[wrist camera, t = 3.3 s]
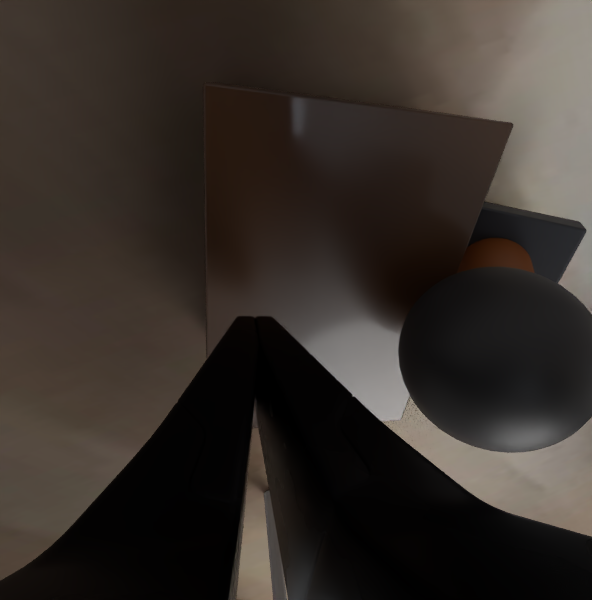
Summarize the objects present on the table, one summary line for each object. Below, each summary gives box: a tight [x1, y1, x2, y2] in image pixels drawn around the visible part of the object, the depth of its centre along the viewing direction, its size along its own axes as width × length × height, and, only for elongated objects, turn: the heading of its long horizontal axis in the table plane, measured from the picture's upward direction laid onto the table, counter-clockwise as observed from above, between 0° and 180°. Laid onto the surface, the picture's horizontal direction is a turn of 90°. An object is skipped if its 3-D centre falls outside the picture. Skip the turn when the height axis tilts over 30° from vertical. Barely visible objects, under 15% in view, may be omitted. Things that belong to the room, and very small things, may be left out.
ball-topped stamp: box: [398, 202, 592, 453], centre depth 11 cm, size 8×4×10 cm, turn 83°
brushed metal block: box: [203, 82, 513, 428], centre depth 12 cm, size 7×10×5 cm
